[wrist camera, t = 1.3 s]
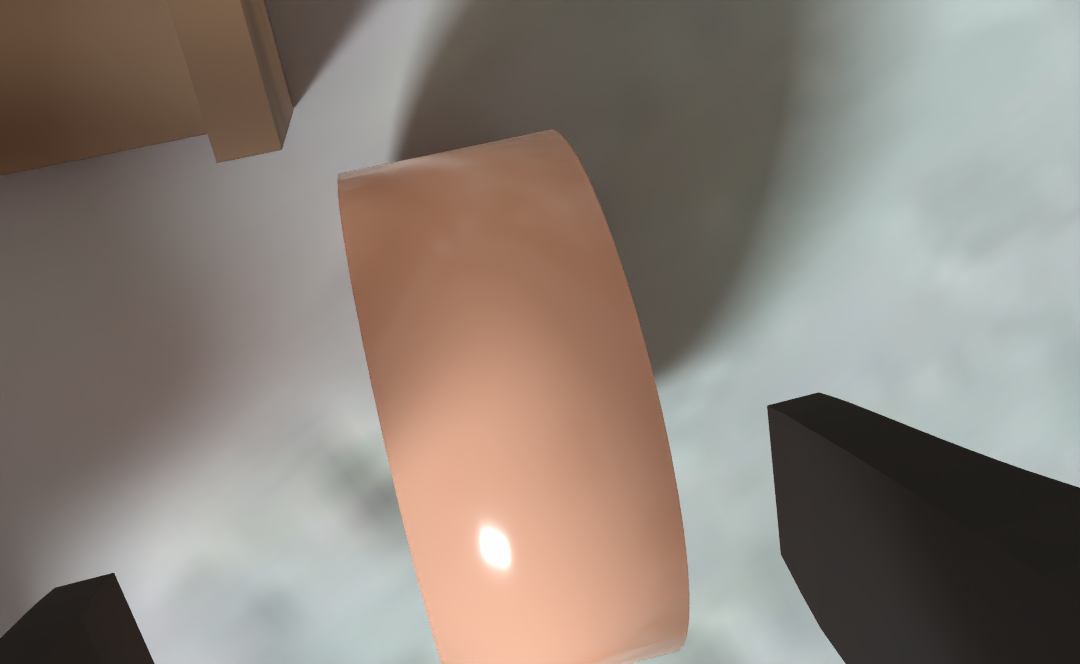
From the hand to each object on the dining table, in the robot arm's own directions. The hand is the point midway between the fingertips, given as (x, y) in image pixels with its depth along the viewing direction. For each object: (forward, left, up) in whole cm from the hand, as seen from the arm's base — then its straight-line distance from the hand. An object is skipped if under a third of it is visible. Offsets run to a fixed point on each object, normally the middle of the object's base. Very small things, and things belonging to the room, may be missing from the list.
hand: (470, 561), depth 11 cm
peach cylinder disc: (-1, -1, -10) cm, 11 cm away
